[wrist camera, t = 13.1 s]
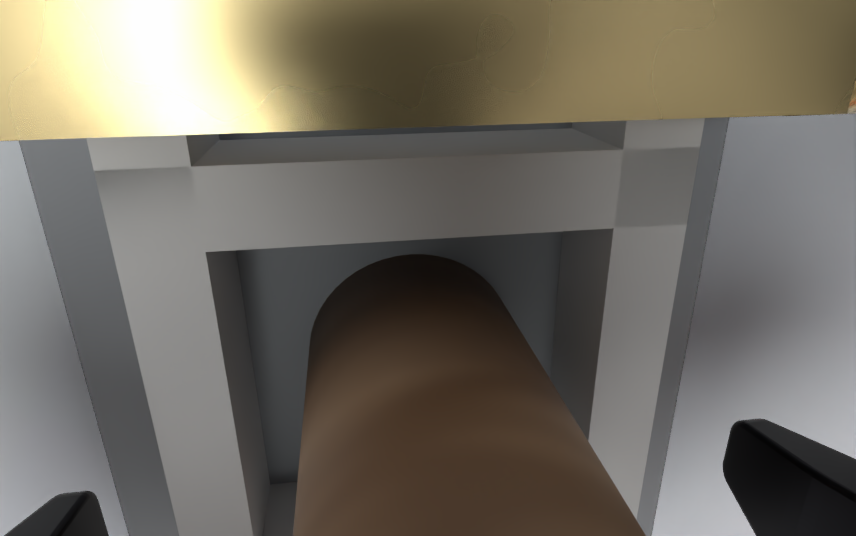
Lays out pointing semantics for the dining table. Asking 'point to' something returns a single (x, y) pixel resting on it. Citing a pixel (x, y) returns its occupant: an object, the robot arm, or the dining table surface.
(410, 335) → the peg
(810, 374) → the dining table surface
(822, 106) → the pin
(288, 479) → the dock
